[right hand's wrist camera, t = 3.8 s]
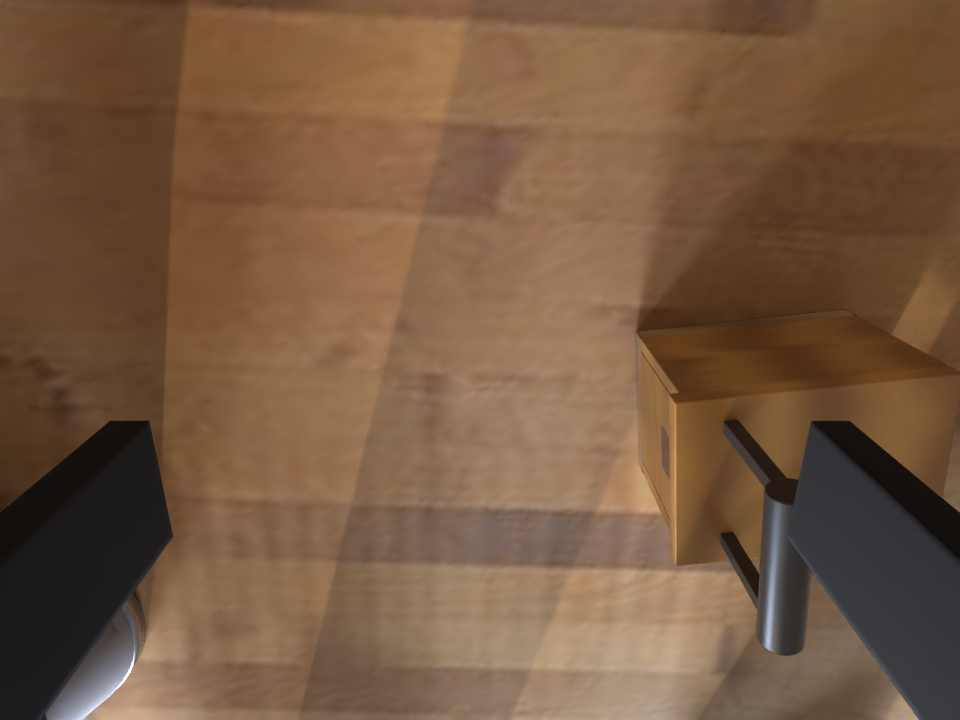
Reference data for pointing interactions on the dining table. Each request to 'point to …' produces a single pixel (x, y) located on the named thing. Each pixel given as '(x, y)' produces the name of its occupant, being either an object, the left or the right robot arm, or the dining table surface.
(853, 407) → the lid
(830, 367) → the chest
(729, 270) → the dining table surface
